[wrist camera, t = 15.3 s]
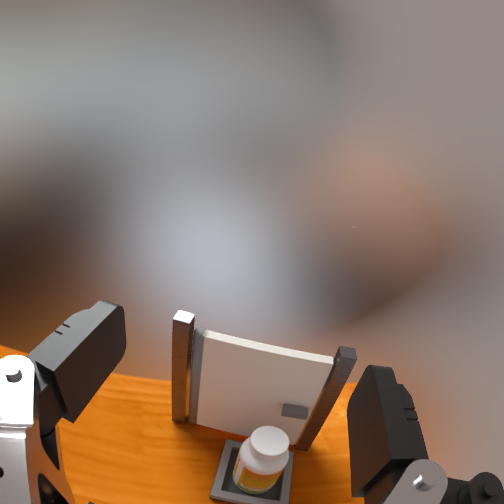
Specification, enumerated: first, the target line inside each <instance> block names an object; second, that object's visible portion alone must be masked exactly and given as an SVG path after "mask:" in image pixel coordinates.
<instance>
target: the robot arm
mask: <svg viewBox="0 0 504 504" xmlns="http://www.w3.org/2000/svg"><path fill="white" fill-rule="evenodd" d="M125 350H126V332H125V317H124V309H123V307H122V306H120V305H117V304H114V303H111V302H108V301H105V300H100V301H98V302H97V303H96V304H95V305H94V306H93V307H92V308H90V310H87V309H85V310H83V311H80V312H78V313H75V314H73V315H72V316H71V317H69V318H68V319H67V320H66V321H65V322H64V323H63V325H60V326H59V327H58V328H57V329H56V331H55V332H53V333H52V334H50V335H49V336H48V337H47V338H46V339H45V340H44V341H43V342H42V343H40V344H39V345H38V346H37V347H36V348H35V349H34V350H33V351H32V352H31V353H30V354H29V355H28V356H26V357H23V356H19V355H12V356H8V357H5V358H3V359H1V360H0V504H75V500H74V497H73V494H72V491H71V488H70V486H69V484H68V482H67V479H66V476H65V471H64V465H63V458H62V451H61V444H60V435H59V427H58V424H57V423H58V421H59V420H60V419H61V418H62V417H63V418H65V419H66V420H68V421H70V422H72V423H74V422H75V421H76V419H77V418H78V416H79V415H80V414H81V412H82V411H83V410H84V408H85V407H86V406H87V404H88V403H89V401H90V400H91V399H92V397H93V396H94V395H95V393H96V392H97V391H98V389H99V388H100V387H101V385H102V384H103V383H104V381H105V380H106V379H107V377H108V376H109V375H110V373H111V372H112V371H113V369H114V368H115V367H116V366H117V364H118V363H119V362H120V360H121V359H122V357H123V355H124V353H125ZM417 420H418V417H417V413H416V411H415V407H414V404H413V400H412V397H411V395H410V394H409V392H408V391H407V390H406V388H405V387H404V386H403V385H402V384H397V382H396V378H395V375H394V372H393V369H392V368H390V367H383V366H375V365H369V366H367V368H366V369H365V371H364V373H363V375H362V377H361V379H360V380H359V382H358V384H357V386H356V388H355V390H354V392H353V393H352V395H351V397H350V400H349V403H348V407H347V421H348V434H349V448H350V466H351V492H352V497H364V501H365V504H504V490H503V486H502V484H501V482H500V480H499V479H498V478H497V477H496V476H495V475H493V474H492V473H489V472H482V473H480V474H478V475H476V476H475V477H474V478H473V479H471V480H470V481H469V482H468V481H463V480H457V479H452V478H448V477H447V475H446V473H445V471H444V469H443V468H442V467H441V466H440V465H439V464H437V463H436V462H433V461H431V460H429V458H428V455H427V451H426V446H425V442H424V438H423V435H422V431H421V427H420V424H419V421H417ZM88 504H94V503H92V502H89V503H88Z"/></svg>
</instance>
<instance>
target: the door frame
mask: <svg viewBox="0 0 504 504" xmlns="http://www.w3.org/2000/svg"><path fill="white" fill-rule="evenodd" d="M194 321H195V314H192V313H189V312H185V311H181V310H179V311H178V313H177V314H176V315H175V317H174V318H173V332H172V421H176V422H179V423H182V424H185V422H186V420H187V417H188V411H189V392H190V374H191V359H192V345H193V333H194ZM356 360H357V356H356V350H355V348H349V347H343V346H339V348H338V350H337V353H336V355H335V358H334V360H333V366H332V369H331V371H330V373H329V375H328V378H327V380H326V382H325V384H324V386H323V389H322V391H321V393H320V395H319V397H318V399H317V401H316V403H315V405H314V407H313V409H312V411H311V413H310V415H309V417H308V419H307V421H306V423H305V425H304V427H303V429H302V431H301V433H300V435H299V437H298V439H297V440H296V442H295V449H298V450H305V451H308V449H309V447H310V446H311V444H312V442H313V441H314V439H315V437H316V436H317V434H318V432H319V431H320V429H321V427H322V426H323V424H324V422H325V420H326V419H327V417H328V415H329V413H330V411H331V410H332V408H333V406H334V404H335V402H336V400H337V398H338V397H339V395H340V393H341V391H342V389H343V387H344V385H345V383H346V381H347V379H348V377H349V375H350V373H351V371H352V369H353V367H354V364H355V362H356Z"/></svg>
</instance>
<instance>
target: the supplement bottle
mask: <svg viewBox="0 0 504 504" xmlns="http://www.w3.org/2000/svg"><path fill="white" fill-rule="evenodd" d="M288 447H289V438H288V436H287V435H286V433H285V432H284V431H282V430H281V429H279V428H277V427H273V426H263V427H260V428H258V429H256V430H255V431H254V432H253V433H252V435H251V437H249V438H247V439H246V440H245V441H244V442H243V444H242V445H241V448H240V451H239V454H238V457H237V460H236V463H235V467H234V470H233V480H234V483H235V484H236V486H237V487H238V488H240V489H241V490H242V491H244V492H247V493H250V494H261V493H264V492H267V491H268V490H270V489H271V488H272V487H273V486H274V484H275V483H276V481H277V479H278V478H279V476H280V474H281V473H282V471H283V469H284V468H285V466H286V464H287V462H288V459H289V450H288Z"/></svg>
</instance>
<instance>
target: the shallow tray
mask: <svg viewBox="0 0 504 504" xmlns="http://www.w3.org/2000/svg"><path fill="white" fill-rule="evenodd" d="M242 444H243V443H242V442H238V441H234V440H229V439H226V442H225V446H224V449H223V453H222V456H221V460H220V463H219V467H218V470H217V473H216V477H215V480H214V484H213V487H212V490H211V494H210V498H211V499H215V500H220V501H224V502H228V503H233V504H288V503H289V494H290V485H291V476H292V466H293V456H294V452H292V451H289V459H288V462H287V464H286V466H285V468H284V469H283V471H282V473H281V474H280V476H279V478H278V479H277V481H276V483H275V484H274V486H273V487H272V488H271V489H270V490H268V491H267V492H264V493H261V494H250V493H247V492H244V491H242V490H241V489H240V488H238V487H237V486H236V484H235V483H234V480H233V470H234V467H235V463H236V460H237V457H238V454H239V451H240V448H241V445H242Z"/></svg>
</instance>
